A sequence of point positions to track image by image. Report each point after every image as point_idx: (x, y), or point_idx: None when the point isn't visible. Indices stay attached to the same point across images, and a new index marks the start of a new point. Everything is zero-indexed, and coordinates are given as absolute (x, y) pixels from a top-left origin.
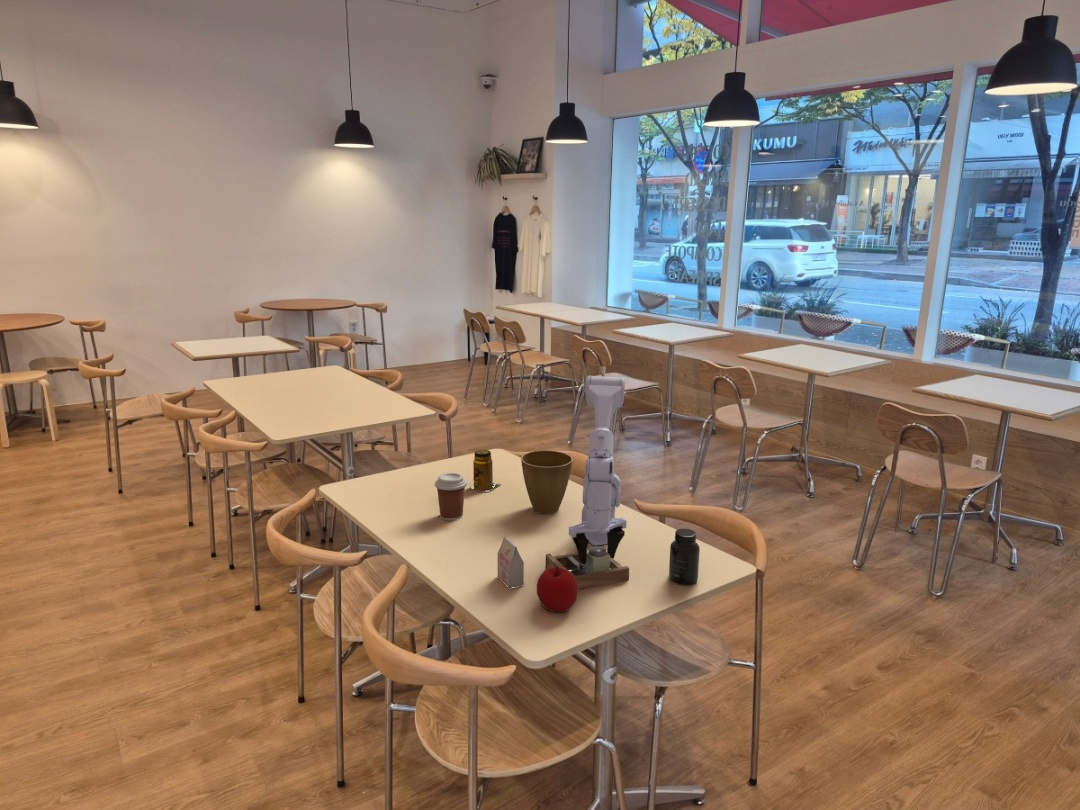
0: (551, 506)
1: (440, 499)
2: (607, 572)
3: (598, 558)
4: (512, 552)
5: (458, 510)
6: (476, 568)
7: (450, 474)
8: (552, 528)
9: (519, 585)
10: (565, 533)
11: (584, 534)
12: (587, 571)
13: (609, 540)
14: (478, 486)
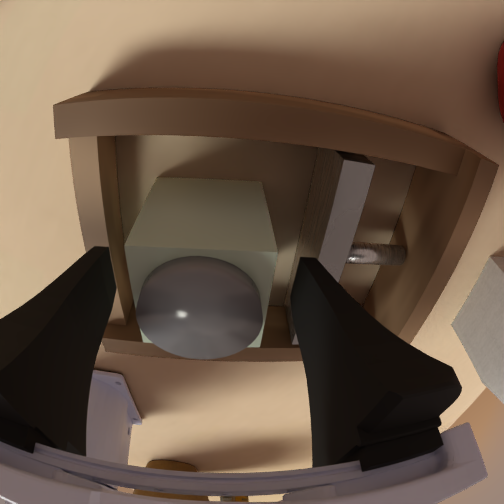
0: None
1: None
2: (231, 98)
3: (231, 245)
4: None
5: None
6: (467, 358)
7: None
8: (194, 441)
9: (500, 259)
10: (174, 426)
11: (373, 459)
12: (345, 180)
13: (82, 363)
14: (245, 496)
